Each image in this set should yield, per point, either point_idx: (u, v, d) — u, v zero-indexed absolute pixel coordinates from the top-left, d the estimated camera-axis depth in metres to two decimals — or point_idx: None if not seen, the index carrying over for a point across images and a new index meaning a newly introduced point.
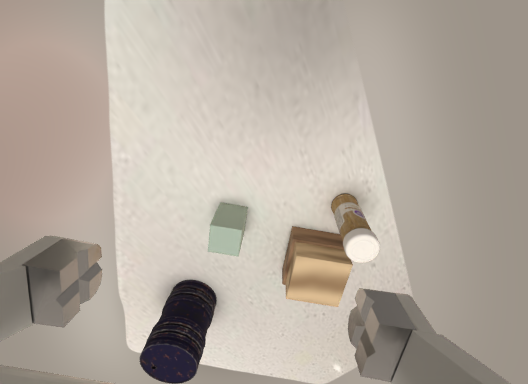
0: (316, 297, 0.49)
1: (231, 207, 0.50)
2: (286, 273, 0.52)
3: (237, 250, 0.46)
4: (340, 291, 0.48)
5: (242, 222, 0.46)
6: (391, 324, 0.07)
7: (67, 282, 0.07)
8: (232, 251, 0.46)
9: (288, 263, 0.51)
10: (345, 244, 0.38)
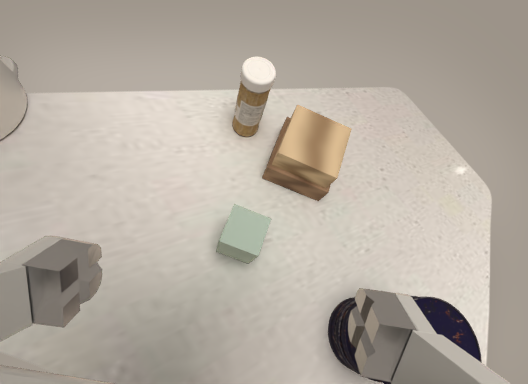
0: (336, 146, 0.42)
1: None
2: (313, 184, 0.44)
3: (262, 217, 0.36)
4: (331, 121, 0.43)
5: None
6: (391, 324, 0.07)
7: (67, 282, 0.07)
8: (262, 223, 0.36)
9: (299, 179, 0.43)
10: (252, 84, 0.37)
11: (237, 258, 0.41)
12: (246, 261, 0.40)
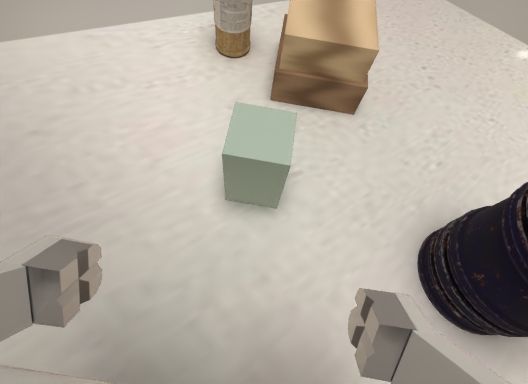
0: (363, 15, 0.29)
1: None
2: (344, 81, 0.30)
3: (282, 113, 0.23)
4: None
5: None
6: (391, 324, 0.07)
7: (67, 282, 0.07)
8: (285, 121, 0.23)
9: (323, 78, 0.30)
10: None
11: (258, 200, 0.27)
12: (272, 201, 0.27)
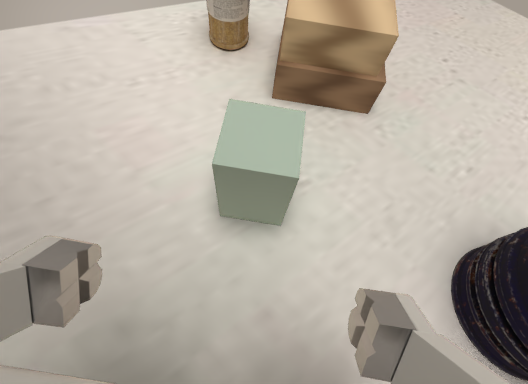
0: None
1: None
2: (358, 75, 0.26)
3: (287, 112, 0.18)
4: None
5: None
6: (391, 324, 0.07)
7: (67, 282, 0.07)
8: (291, 122, 0.18)
9: (333, 72, 0.26)
10: None
11: (259, 217, 0.23)
12: (276, 218, 0.22)
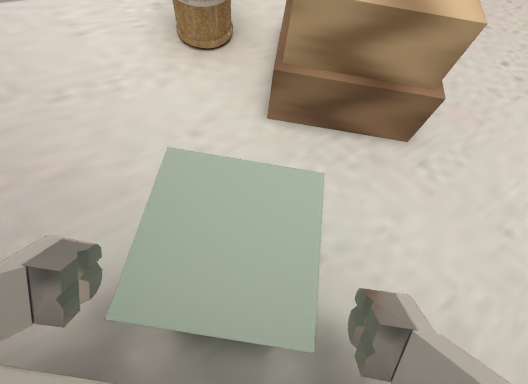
0: None
1: None
2: (401, 88, 0.17)
3: (287, 175, 0.09)
4: None
5: None
6: (391, 324, 0.07)
7: (67, 282, 0.07)
8: (296, 199, 0.09)
9: (363, 82, 0.17)
10: None
11: None
12: None
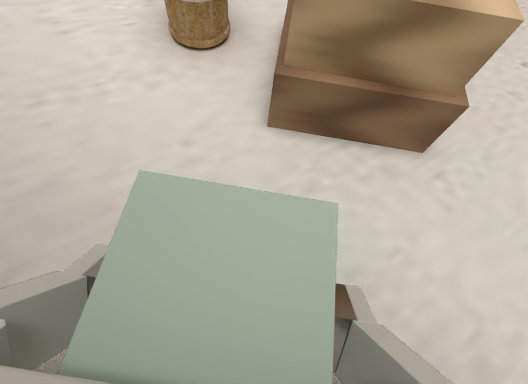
0: None
1: None
2: (418, 94, 0.15)
3: (291, 206, 0.07)
4: None
5: None
6: None
7: None
8: (302, 238, 0.07)
9: (375, 87, 0.15)
10: None
11: None
12: None
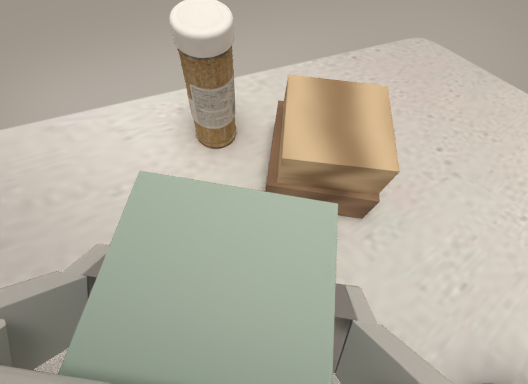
0: (376, 118, 0.24)
1: None
2: (350, 194, 0.25)
3: (291, 206, 0.07)
4: (351, 84, 0.26)
5: None
6: None
7: None
8: (302, 238, 0.07)
9: (325, 191, 0.25)
10: (192, 40, 0.20)
11: None
12: None
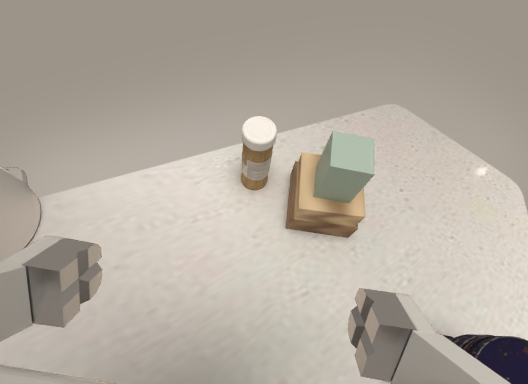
0: None
1: (316, 178, 0.39)
2: None
3: (364, 138, 0.34)
4: None
5: (327, 144, 0.36)
6: (391, 324, 0.07)
7: (67, 282, 0.07)
8: (367, 144, 0.34)
9: None
10: (256, 145, 0.36)
11: (338, 197, 0.38)
12: (349, 198, 0.38)
